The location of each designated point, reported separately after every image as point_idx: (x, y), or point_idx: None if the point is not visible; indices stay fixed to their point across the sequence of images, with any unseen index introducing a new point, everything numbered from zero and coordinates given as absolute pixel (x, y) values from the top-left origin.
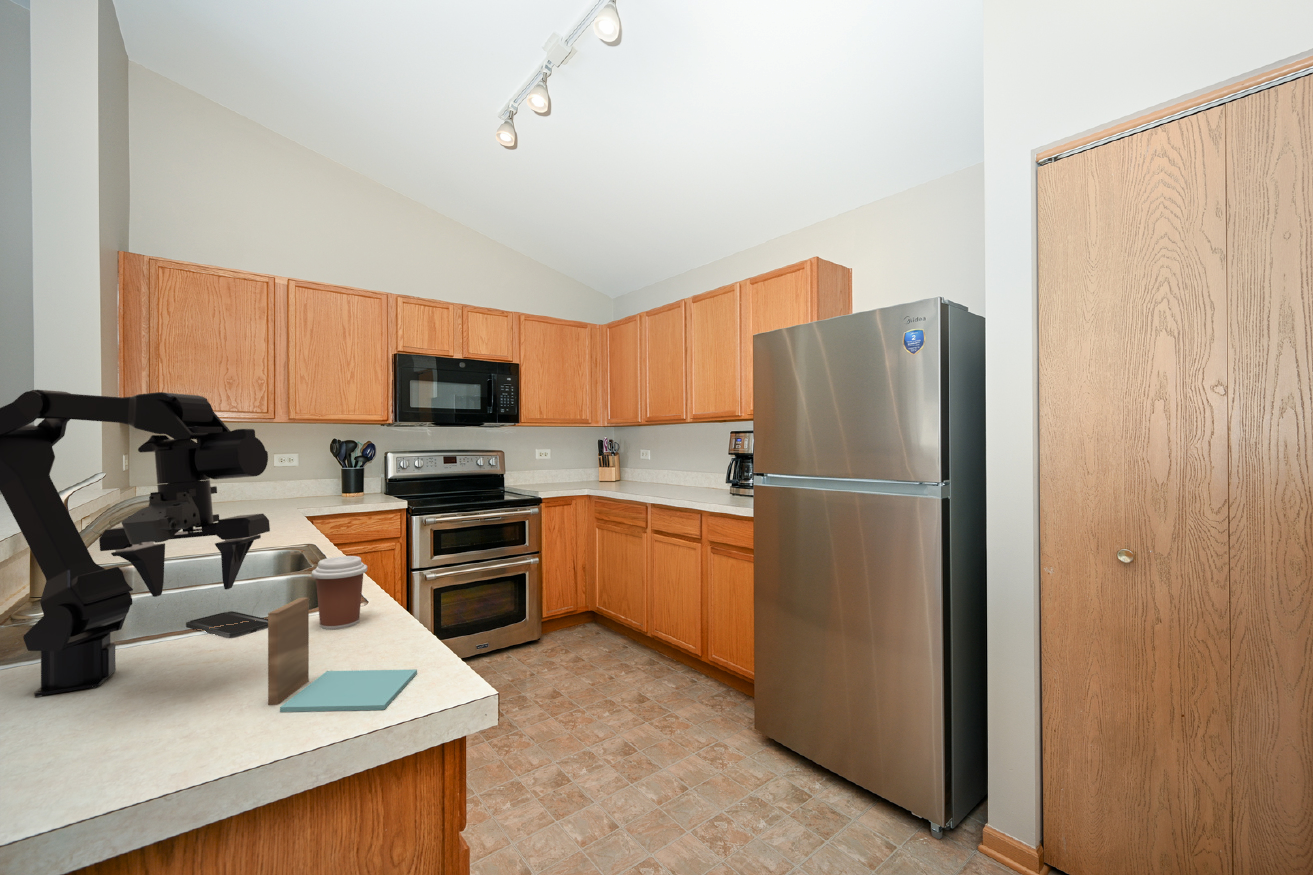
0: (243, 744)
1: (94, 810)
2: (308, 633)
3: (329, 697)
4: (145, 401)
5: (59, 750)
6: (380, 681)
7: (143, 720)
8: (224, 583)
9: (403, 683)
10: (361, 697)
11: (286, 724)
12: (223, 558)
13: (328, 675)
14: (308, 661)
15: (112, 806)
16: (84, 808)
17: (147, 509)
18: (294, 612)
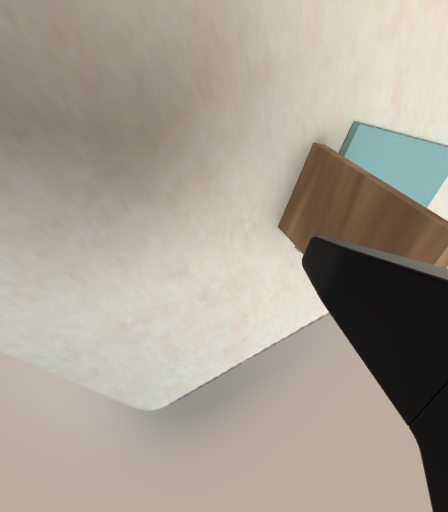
0: (270, 309)
1: (187, 387)
2: (394, 188)
3: None
4: None
5: (50, 329)
6: (412, 188)
7: (110, 259)
8: (316, 284)
9: (431, 199)
10: None
11: (304, 274)
12: (402, 403)
13: (359, 147)
14: (350, 161)
15: (198, 382)
16: (177, 387)
17: None
18: None
